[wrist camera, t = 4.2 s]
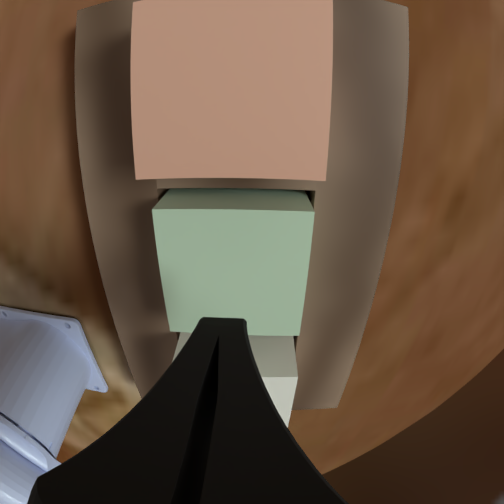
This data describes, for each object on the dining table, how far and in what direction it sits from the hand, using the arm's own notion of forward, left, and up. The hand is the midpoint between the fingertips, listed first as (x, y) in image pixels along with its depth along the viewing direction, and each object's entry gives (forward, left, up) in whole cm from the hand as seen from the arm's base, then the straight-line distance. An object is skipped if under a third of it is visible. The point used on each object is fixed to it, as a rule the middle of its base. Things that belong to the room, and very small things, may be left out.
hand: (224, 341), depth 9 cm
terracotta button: (0, +7, -6) cm, 9 cm away
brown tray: (0, 0, -7) cm, 7 cm away
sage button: (0, 0, -7) cm, 7 cm away
